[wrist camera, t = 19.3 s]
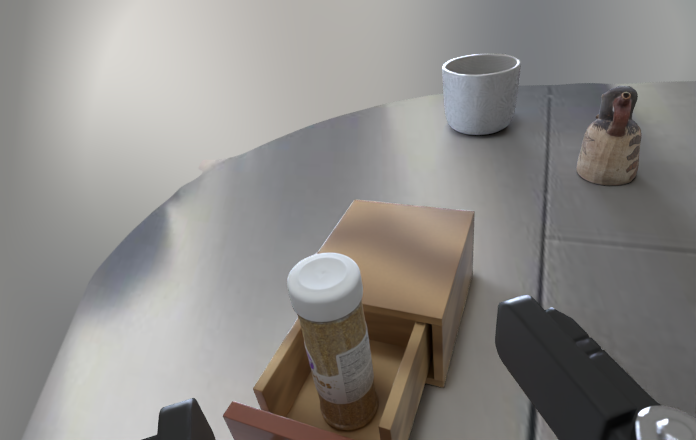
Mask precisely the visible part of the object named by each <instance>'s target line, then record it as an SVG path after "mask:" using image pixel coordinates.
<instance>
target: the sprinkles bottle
mask: <svg viewBox="0 0 696 440" xmlns="http://www.w3.org/2000/svg"><path fill="white" fill-rule="evenodd" d="M287 288H288V293H289V297H290V301H291V304H292V307H293V309H294V311H295V312H296V313H297V315H298V318H299V321H300V325H301V329H302V333H303V337H304V341H305V342H304V343H305V348H306V351H307V355H308V359H309V363H310V367H311V371H312V375H313V379H314V383H315V387H316V389H317V392H318V396H319V399H320V410H321V413H322V416H323V418H324V419H325V420H326V422H327V423H328V424H329V425H331V426H333V427H335V428H336V429H339V430H354V429H358V428H361V427H363V426H365V425H366V424H367V423H368V422H369V421H370V420H371V419H372V418H373V417H374V415H375V413H376V411H377V409H378V396H377V393H376V390H375V386H374V381H373V379H374V373H373V366H372V358H371V351H370V345H369V338H368V331H367V325H366V322H365V317H364V312H363V304H362V296H363V286H362V280H361V274H360V270H359V267H358V265H357V264H356V263H355V261H354V260H352V259H351V258H349V257H347V256H345V255H342V254H338V253H320V254H316V255H313V256H310V257H307V258H305V259H303V260H302V261H300V262H299V263H298V264H296V265H295V266H294V267H293V269H292V270H291V271H290V273H289V275H288V279H287Z"/></svg>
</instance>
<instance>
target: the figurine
mask: <svg viewBox="0 0 696 440" xmlns="http://www.w3.org/2000/svg"><path fill="white" fill-rule="evenodd" d="M637 97H638V96H637V92H636V90H634V89H633V88H632V87H630V86H617V87H616V88H613V89H611V90H609V91H608V92H606V93H604V94H603V95H602V97H601V98H602V102H601V106H600V113H599V115H597V116H596V118H597V120H596V121H594V122H593V123H592V124H590V125H589V126H588V128H587V130H586V133H585V136H584V139H583V143H582V147H581V151H580V155H579V158H578V163H577V172H578V174H579V175H580V176H581V177H582V178H583V179H585V180H587V181H589V182H592V183H596V184H600V185H622V184H626V183H629V182H631V181H632V180H633V178H634V177H635V176H636V174H637V170H638V164H639V150H640V141H641V130H640V127H639V126H638V125H637V123H636V122H634V121H633V120H632V113H633V109H634V107H635V104H636V101H637Z"/></svg>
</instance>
